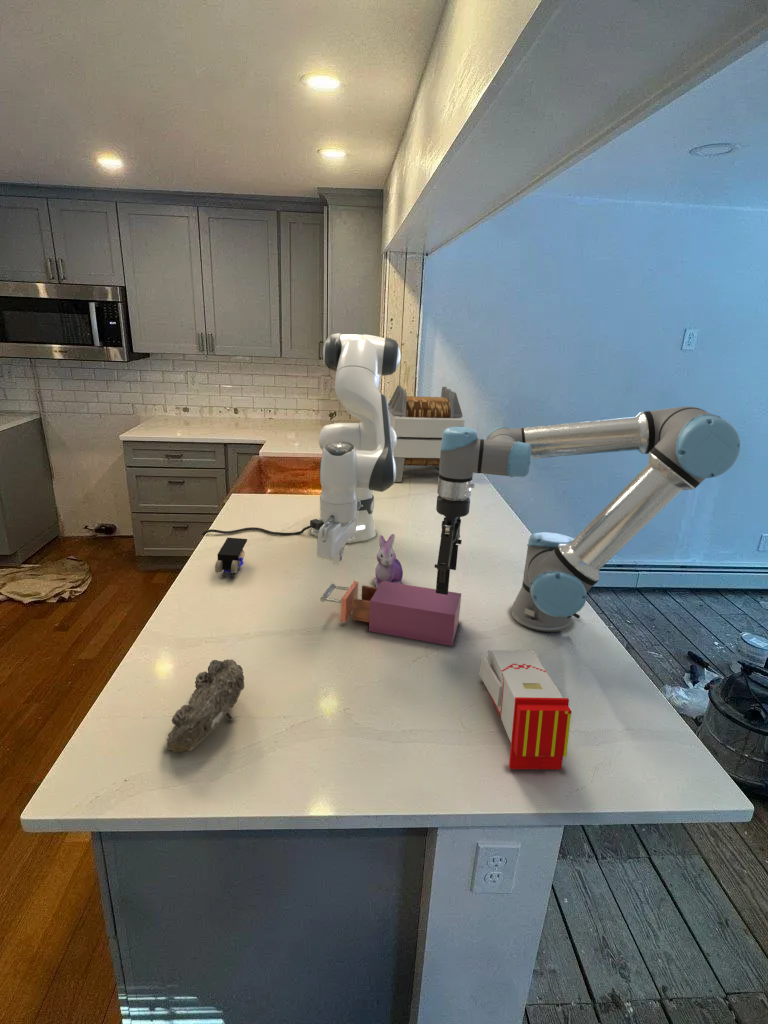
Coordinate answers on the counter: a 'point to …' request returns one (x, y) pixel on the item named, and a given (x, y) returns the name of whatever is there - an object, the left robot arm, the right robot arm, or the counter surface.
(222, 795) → the counter surface
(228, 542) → the figurine character
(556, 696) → the toy
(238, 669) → the fossil
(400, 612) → the cabinet
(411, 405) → the transformer
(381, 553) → the figurine
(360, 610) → the drawer
